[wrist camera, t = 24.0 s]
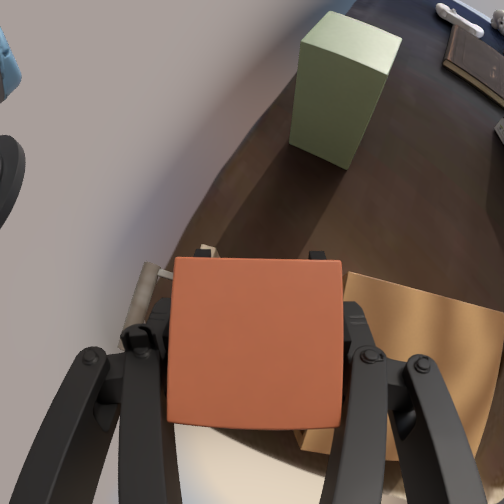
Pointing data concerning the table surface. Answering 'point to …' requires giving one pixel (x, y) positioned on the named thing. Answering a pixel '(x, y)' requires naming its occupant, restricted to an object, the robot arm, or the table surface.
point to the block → (256, 343)
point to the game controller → (458, 20)
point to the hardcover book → (476, 63)
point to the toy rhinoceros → (498, 21)
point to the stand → (339, 85)
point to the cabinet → (428, 349)
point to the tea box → (500, 129)
